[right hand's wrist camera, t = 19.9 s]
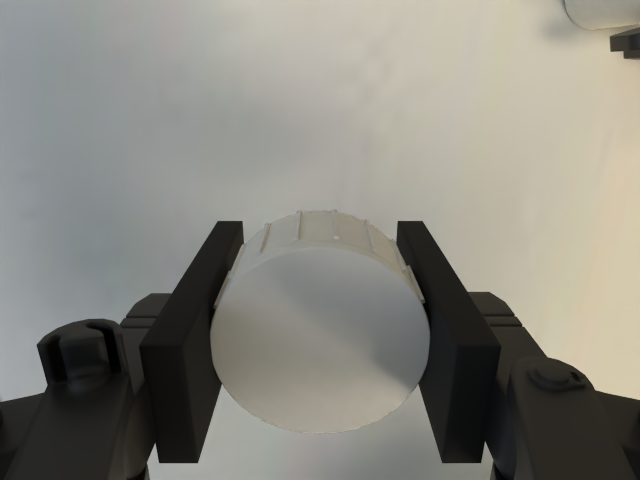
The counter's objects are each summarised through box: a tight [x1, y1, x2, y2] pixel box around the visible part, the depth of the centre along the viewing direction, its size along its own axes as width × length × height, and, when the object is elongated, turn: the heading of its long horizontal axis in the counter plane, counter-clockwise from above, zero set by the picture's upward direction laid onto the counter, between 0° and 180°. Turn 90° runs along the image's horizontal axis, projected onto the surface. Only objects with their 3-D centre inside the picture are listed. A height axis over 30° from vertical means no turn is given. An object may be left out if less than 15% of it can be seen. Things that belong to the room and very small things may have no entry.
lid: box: [210, 210, 430, 434], centre depth 11 cm, size 5×5×2 cm
